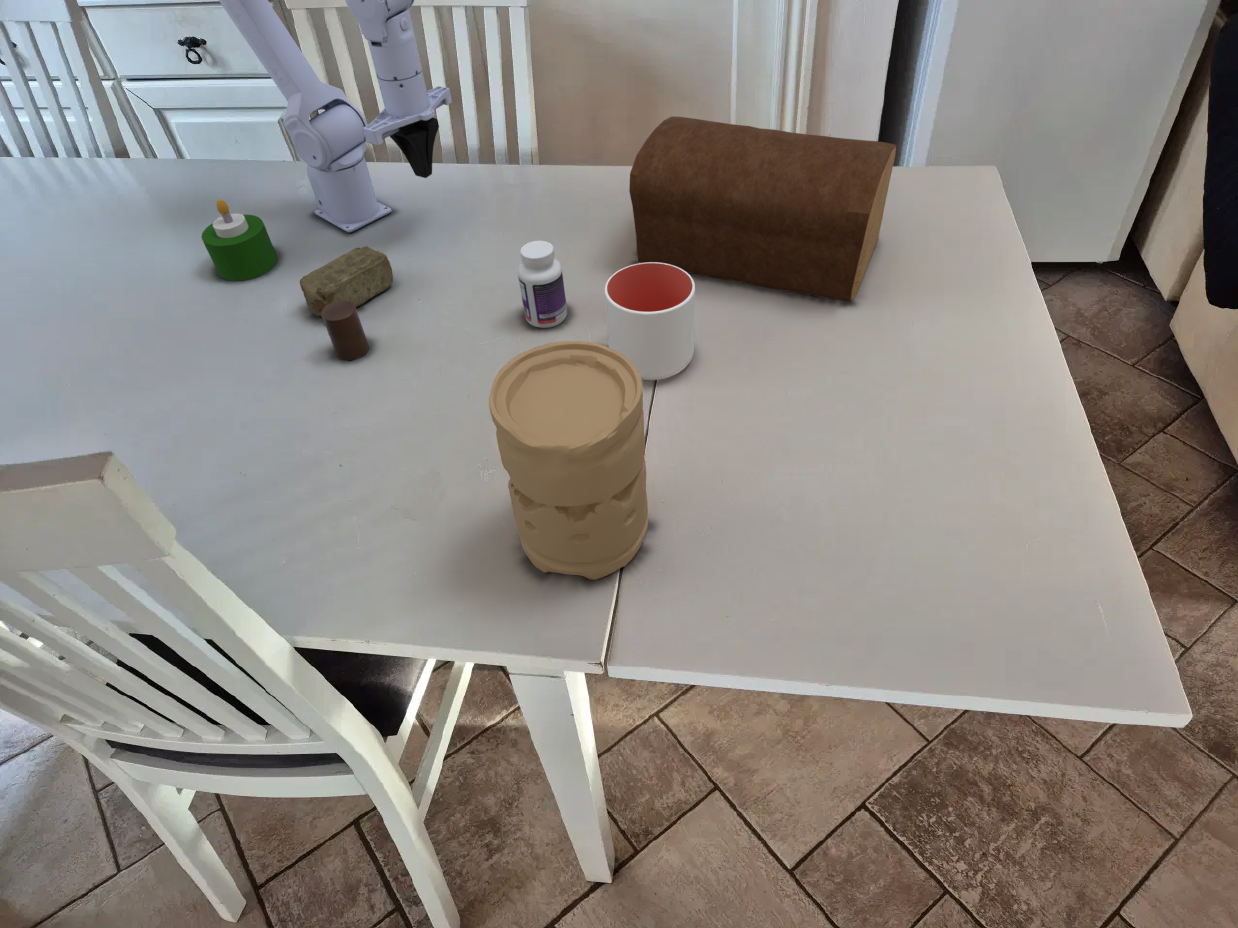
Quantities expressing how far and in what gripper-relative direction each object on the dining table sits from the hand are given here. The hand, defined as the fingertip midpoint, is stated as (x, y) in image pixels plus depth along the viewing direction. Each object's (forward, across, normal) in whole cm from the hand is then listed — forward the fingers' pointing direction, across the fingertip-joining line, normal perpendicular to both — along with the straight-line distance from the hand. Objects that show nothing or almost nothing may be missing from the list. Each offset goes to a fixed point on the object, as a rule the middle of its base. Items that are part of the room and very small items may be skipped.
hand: (423, 174), depth 112 cm
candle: (+10, -19, +20) cm, 29 cm away
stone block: (+10, -18, 0) cm, 20 cm away
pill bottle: (+10, -9, -26) cm, 29 cm away
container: (+10, -35, -50) cm, 62 cm away
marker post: (+9, -26, -8) cm, 29 cm away
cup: (+10, -10, -42) cm, 44 cm away
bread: (+10, +17, -43) cm, 47 cm away
